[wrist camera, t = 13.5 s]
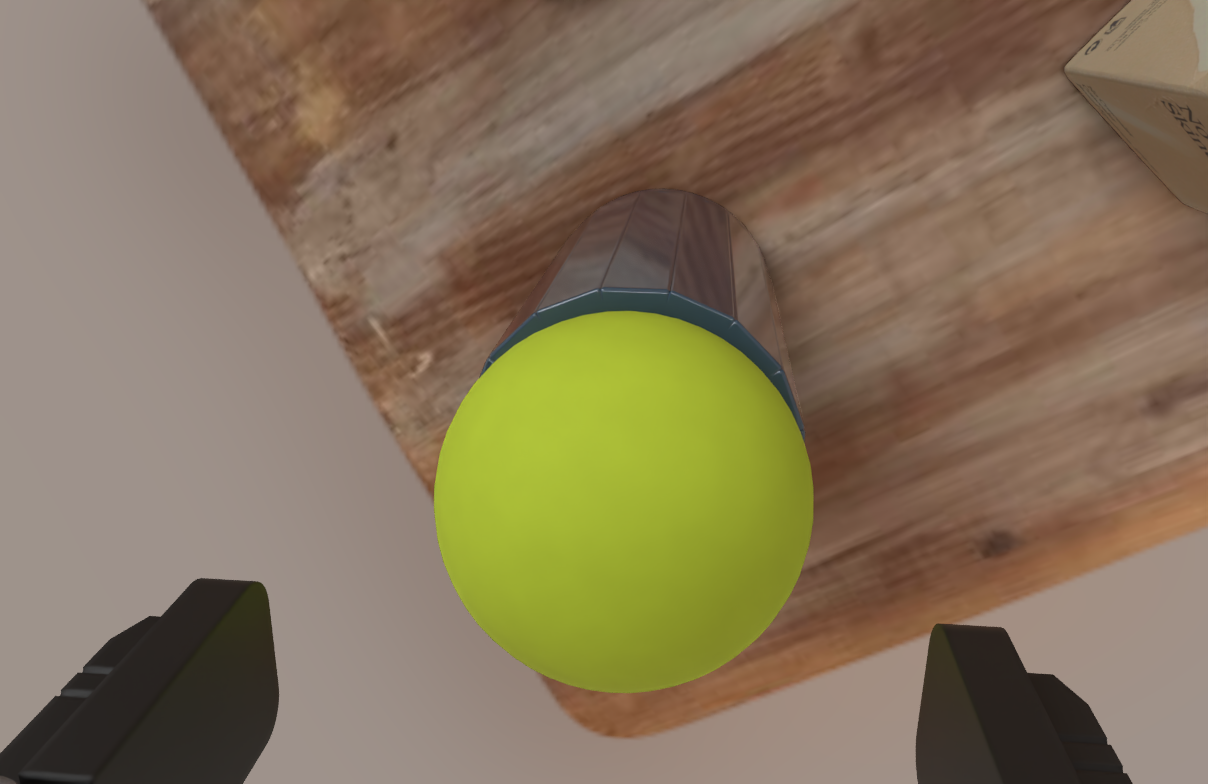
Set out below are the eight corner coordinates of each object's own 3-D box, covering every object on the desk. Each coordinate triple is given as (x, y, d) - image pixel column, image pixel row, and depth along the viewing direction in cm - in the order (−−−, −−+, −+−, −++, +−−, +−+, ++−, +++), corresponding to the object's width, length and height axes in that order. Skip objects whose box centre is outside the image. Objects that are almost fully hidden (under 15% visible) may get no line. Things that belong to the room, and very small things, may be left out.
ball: (486, 559, 21) (395, 760, 15) (477, 265, 19) (367, 372, 13) (789, 580, 20) (811, 798, 14) (814, 278, 18) (851, 396, 12)
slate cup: (554, 394, 30) (470, 591, 19) (553, 185, 28) (458, 282, 17) (763, 403, 29) (791, 611, 19) (777, 191, 27) (817, 294, 17)
